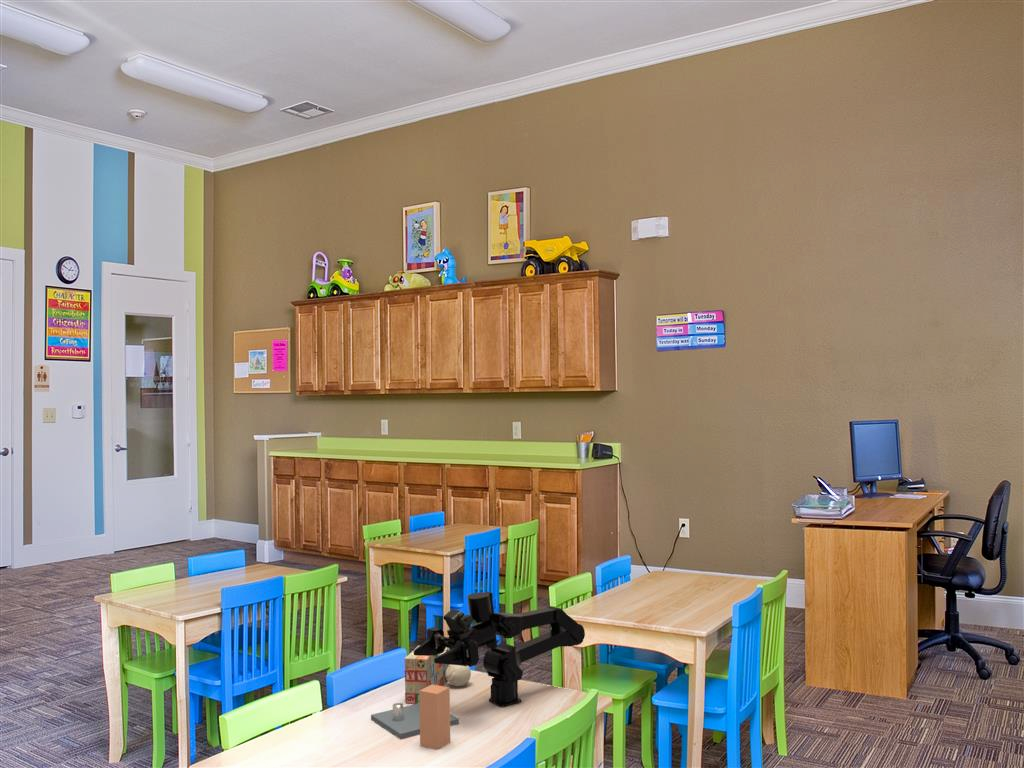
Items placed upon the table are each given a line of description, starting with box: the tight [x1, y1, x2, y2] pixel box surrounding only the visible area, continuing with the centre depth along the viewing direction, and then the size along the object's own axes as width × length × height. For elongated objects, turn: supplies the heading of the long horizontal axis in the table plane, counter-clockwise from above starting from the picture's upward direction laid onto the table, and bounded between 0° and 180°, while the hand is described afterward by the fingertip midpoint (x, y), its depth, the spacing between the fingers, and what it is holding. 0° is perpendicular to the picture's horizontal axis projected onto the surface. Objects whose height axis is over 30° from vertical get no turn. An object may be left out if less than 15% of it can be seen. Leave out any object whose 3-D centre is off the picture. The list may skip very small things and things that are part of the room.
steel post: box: [392, 702, 404, 721], centre depth 205 cm, size 3×3×5 cm
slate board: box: [370, 703, 460, 740], centre depth 206 cm, size 16×16×1 cm
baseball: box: [445, 664, 472, 687], centre depth 234 cm, size 7×7×7 cm
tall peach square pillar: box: [419, 685, 451, 750], centre depth 192 cm, size 5×5×12 cm
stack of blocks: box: [404, 644, 450, 705], centre depth 229 cm, size 21×6×12 cm, turn 169°
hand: (424, 657), depth 204 cm, fingers open, 9 cm apart
